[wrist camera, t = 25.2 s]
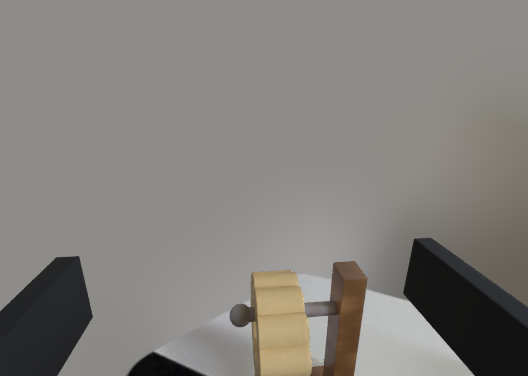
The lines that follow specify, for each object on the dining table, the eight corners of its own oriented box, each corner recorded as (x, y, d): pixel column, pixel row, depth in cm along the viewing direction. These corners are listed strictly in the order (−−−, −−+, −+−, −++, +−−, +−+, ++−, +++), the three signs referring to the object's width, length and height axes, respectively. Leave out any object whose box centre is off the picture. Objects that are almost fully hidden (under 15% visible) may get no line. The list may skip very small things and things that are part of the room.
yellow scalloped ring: (260, 429, 26) (260, 333, 23) (251, 329, 37) (250, 252, 33) (307, 423, 27) (315, 328, 23) (284, 326, 38) (287, 250, 34)
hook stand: (234, 477, 29) (227, 315, 23) (233, 383, 39) (228, 251, 32) (375, 457, 31) (406, 301, 24) (341, 372, 40) (357, 243, 34)
